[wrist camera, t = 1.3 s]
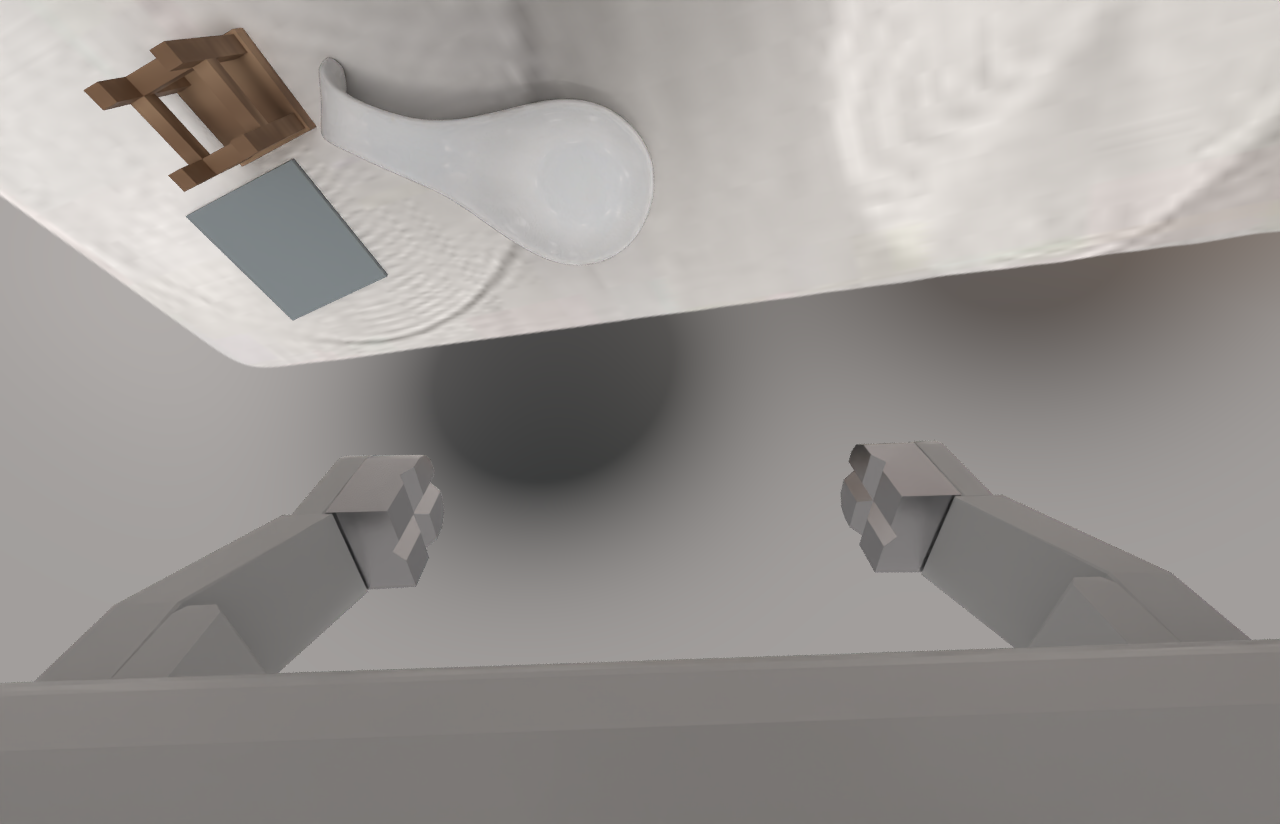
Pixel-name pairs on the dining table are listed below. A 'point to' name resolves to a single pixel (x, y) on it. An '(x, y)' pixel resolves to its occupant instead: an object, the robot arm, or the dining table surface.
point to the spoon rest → (512, 167)
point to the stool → (211, 101)
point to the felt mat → (289, 241)
